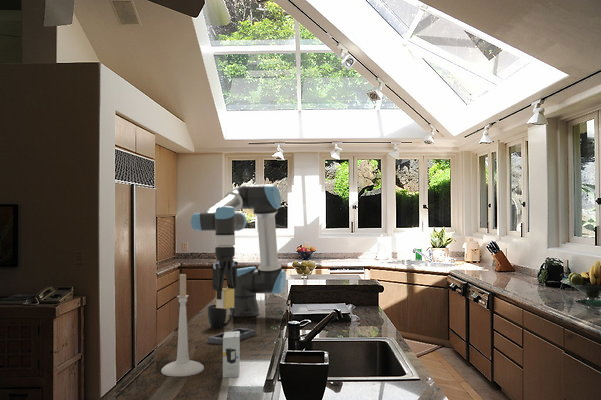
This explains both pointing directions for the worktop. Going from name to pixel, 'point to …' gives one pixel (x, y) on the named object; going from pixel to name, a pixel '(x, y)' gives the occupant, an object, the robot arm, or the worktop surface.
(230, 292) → the yellow block
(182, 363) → the candlestick
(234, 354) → the ink box
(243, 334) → the frame with square openings
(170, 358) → the worktop surface
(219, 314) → the mug
